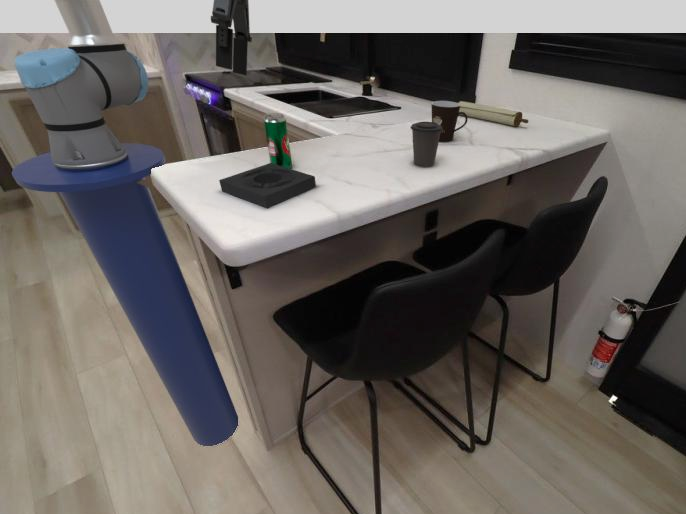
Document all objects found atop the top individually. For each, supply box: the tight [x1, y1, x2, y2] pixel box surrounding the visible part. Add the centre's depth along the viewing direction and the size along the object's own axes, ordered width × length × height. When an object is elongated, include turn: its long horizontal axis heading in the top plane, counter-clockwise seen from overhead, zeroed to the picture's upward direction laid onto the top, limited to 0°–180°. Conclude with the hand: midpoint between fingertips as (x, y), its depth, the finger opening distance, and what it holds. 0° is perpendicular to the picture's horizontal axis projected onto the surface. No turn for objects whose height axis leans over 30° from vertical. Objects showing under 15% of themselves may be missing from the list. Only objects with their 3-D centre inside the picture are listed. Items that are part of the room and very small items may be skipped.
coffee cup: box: [410, 121, 443, 168], centre depth 96 cm, size 8×8×10 cm
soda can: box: [262, 112, 293, 169], centre depth 89 cm, size 5×5×12 cm
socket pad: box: [218, 162, 317, 209], centre depth 82 cm, size 14×14×2 cm
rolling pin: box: [457, 100, 529, 128], centre depth 138 cm, size 32×6×5 cm, turn 49°
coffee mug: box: [430, 100, 468, 143], centre depth 114 cm, size 12×9×10 cm
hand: (232, 71), depth 77 cm, fingers open, 13 cm apart
